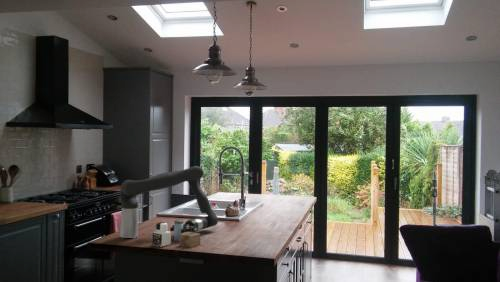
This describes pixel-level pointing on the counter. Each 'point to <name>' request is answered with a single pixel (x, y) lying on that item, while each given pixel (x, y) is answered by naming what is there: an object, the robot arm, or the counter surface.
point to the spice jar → (177, 229)
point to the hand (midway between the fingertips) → (176, 230)
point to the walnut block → (189, 239)
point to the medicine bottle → (161, 235)
